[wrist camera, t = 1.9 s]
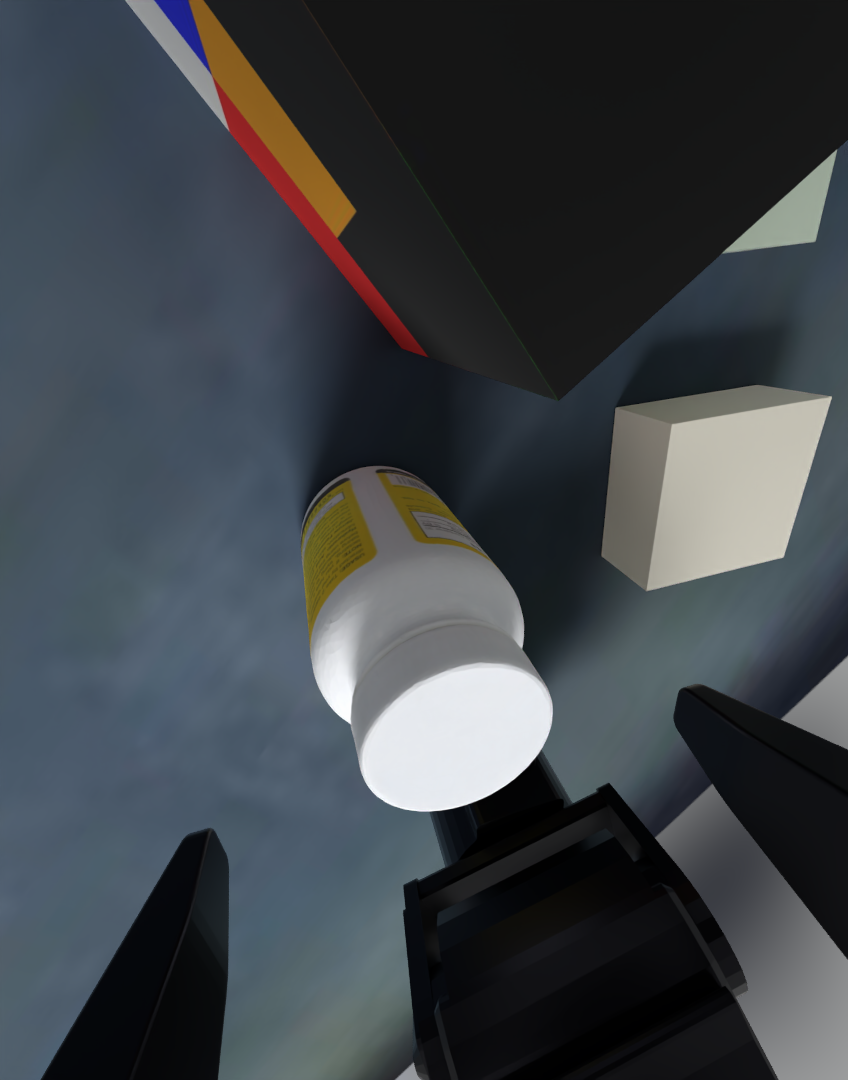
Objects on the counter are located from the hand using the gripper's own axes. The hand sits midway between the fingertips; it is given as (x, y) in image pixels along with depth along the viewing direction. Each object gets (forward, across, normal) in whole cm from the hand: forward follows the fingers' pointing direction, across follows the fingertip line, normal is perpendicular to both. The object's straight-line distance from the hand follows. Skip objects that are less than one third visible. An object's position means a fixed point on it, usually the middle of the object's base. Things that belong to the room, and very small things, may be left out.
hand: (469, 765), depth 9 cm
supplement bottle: (+10, 0, 0) cm, 10 cm away
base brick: (+10, -13, 0) cm, 17 cm away
